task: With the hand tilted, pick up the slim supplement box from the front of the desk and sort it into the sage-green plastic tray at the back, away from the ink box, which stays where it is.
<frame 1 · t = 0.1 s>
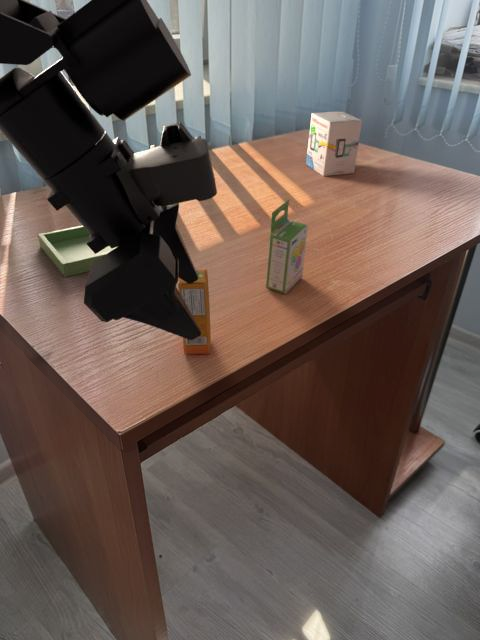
hand: (195, 306, 47), 13 cm above the table, tool tilted 35°, fingers open, 9 cm apart
ink box 2: (329, 169, 121), on the table
green tray: (101, 250, 82), on the table
supplement box: (196, 348, 63), on the table
ink box: (284, 284, 77), on the table
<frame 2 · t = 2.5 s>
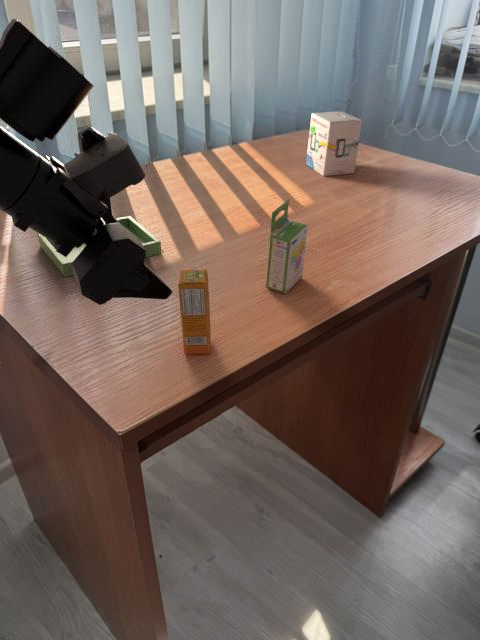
hand: (155, 273, 55), 11 cm above the table, tool tilted 45°, fingers open, 9 cm apart
nothing on the table moved.
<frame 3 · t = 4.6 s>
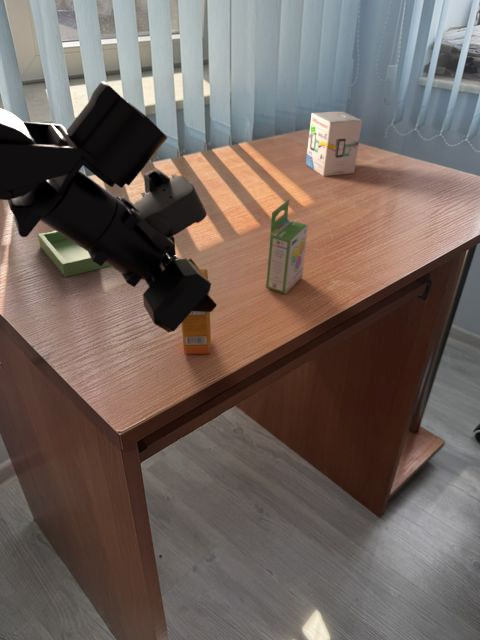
hand: (206, 299, 60), 7 cm above the table, tool tilted 45°, fingers closed on supplement box, 4 cm apart
supplement box: (196, 348, 63), on the table, touching gripper
everything else where it was.
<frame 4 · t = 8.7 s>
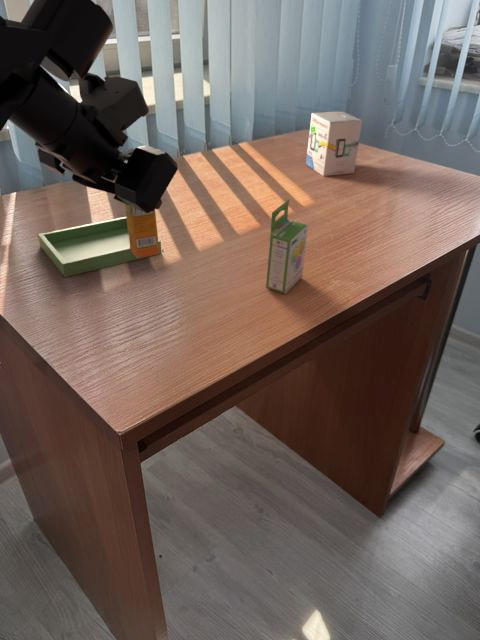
hand: (148, 200, 65), 13 cm above the table, tool tilted 45°, fingers closed on supplement box, 4 cm apart
supplement box: (143, 253, 68), point 7 cm above the table, touching gripper
everything else where it was.
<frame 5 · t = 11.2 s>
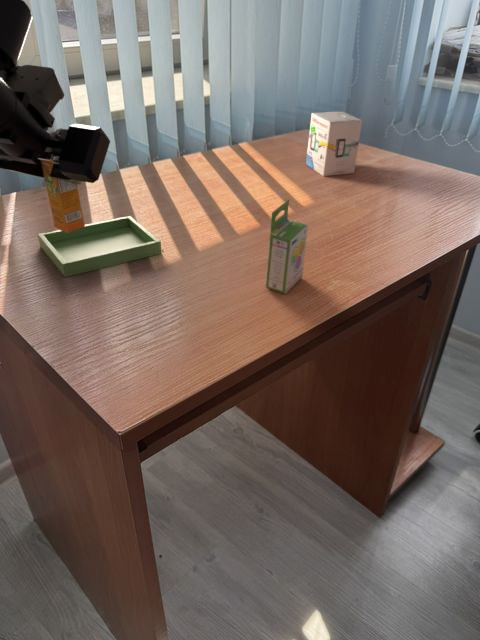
hand: (67, 178, 71), 13 cm above the table, tool tilted 45°, fingers closed on supplement box, 4 cm apart
supplement box: (69, 228, 74), point 6 cm above the table, touching gripper
everything else where it was.
when the fingers open (7 cm above the table, at t = 13.1 s): supplement box stays where it is, resting on green tray.
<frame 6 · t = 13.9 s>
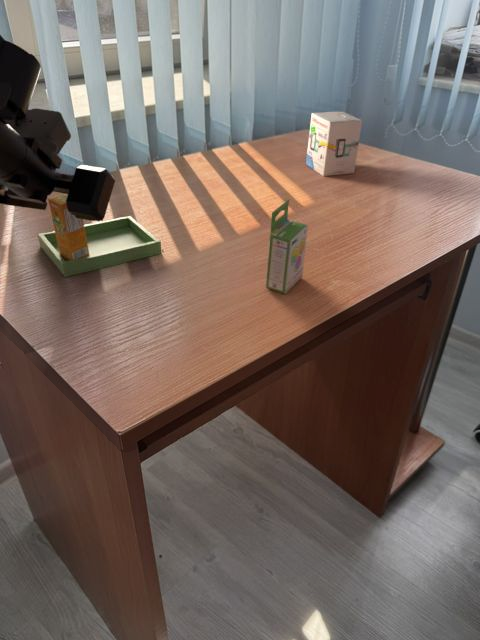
hand: (73, 211, 74), 8 cm above the table, tool tilted 45°, fingers open, 9 cm apart
supplement box: (75, 263, 77), resting on green tray
everything else where it was.
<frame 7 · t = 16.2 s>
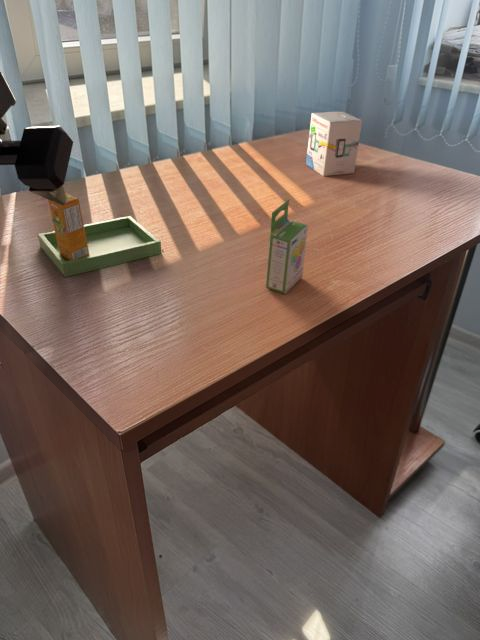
hand: (29, 201, 63), 13 cm above the table, tool tilted 40°, fingers open, 9 cm apart
nothing on the table moved.
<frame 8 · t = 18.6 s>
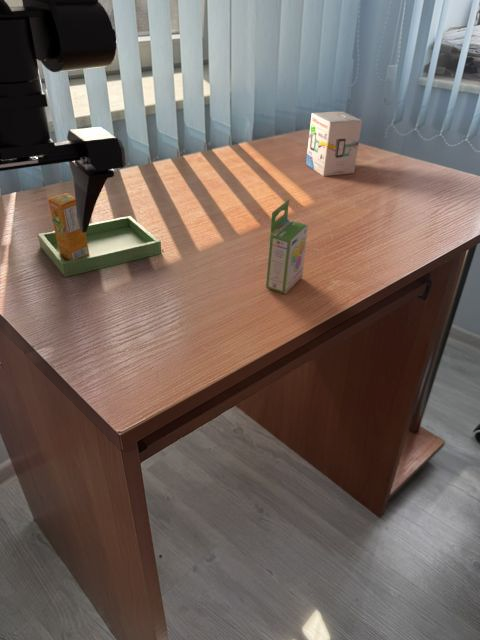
hand: (40, 239, 55), 13 cm above the table, tool pointing down, fingers open, 9 cm apart
nothing on the table moved.
at the end: supplement box inside the target area in the green tray (6.1 cm from its centre), point 0.3 cm above the green tray's base; supplement box tilted 0°; the gripper is holding nothing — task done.
